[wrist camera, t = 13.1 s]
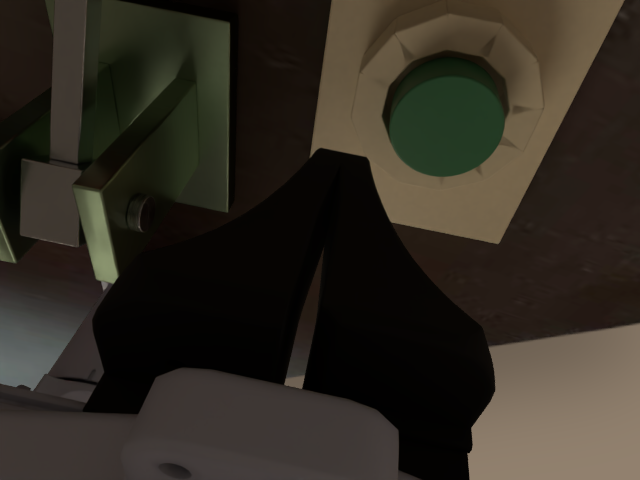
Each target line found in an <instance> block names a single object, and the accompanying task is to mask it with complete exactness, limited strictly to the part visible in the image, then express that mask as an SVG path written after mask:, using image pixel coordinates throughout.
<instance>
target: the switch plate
mask: <svg viewBox="0 0 640 480" xmlns="http://www.w3.org/2000/svg"><path fill="white" fill-rule="evenodd" d="M623 2H624V0H332V1H331V9H330V16H329V23H328V30H327V37H326V44H325V52H324V59H323V66H322V73H321V80H320V87H319V94H318V102H317V109H316V116H315V123H314V130H313V137H312V144H311V152H310V157H311V156H312V155H313V154H314V152H315V151H316V150H317V149H319V148H325V149H330V150H335V151H340V152H344V153H349V154H354V155H359V156H364V157H367V158H368V160H369V161H370V166H371V171H372V175H373V179H374V182H375V185H376V188H377V191H378V194H379V197H380V199H381V202H382V204H383V207H384V209H385V211H386V213H387V215H388V218H389V219H390V221H391V222H393V223H398V224H403V225H408V226H413V227H418V228H423V229H428V230H433V231H438V232H442V233H447V234H452V235H457V236H462V237H467V238H472V239H477V240H482V241H486V242H491V243H496V244H499V242H500V240H501V238H502V237H503V235H504V233H505V231H506V229H507V227H508V225H509V223H510V221H511V219H512V217H513V215H514V213H515V211H516V209H517V207H518V206H519V204H520V202H521V200H522V198H523V196H524V194H525V192H526V190H527V188H528V186H529V184H530V182H531V180H532V178H533V176H534V175H535V173H536V171H537V169H538V167H539V165H540V163H541V161H542V159H543V157H544V155H545V153H546V151H547V149H548V147H549V146H550V144H551V142H552V140H553V138H554V136H555V134H556V132H557V130H558V128H559V126H560V124H561V122H562V120H563V118H564V116H565V115H566V113H567V111H568V109H569V107H570V105H571V103H572V101H573V99H574V97H575V95H576V93H577V91H578V89H579V87H580V85H581V84H582V82H583V80H584V78H585V76H586V74H587V72H588V70H589V68H590V66H591V64H592V62H593V60H594V58H595V56H596V55H597V53H598V51H599V49H600V47H601V45H602V43H603V41H604V39H605V37H606V35H607V33H608V31H609V29H610V27H611V25H612V24H613V22H614V20H615V18H616V16H617V14H618V12H619V10H620V8H621V6H622V4H623ZM443 57H457V58H463V59H466V60H469V61H472V62H474V63H476V64H478V65H479V66H481V67H482V68H483V69H485V70H486V71H487V72H488V74H489V75H490V76H491V77H492V79H493V80H494V82H495V84H496V87H497V90H498V93H499V96H500V100H501V103H502V106H503V110H504V115H505V127H504V132H503V136H502V138H501V141H500V143H499V145H498V147H497V148H496V149H495V151H494V152H493V154H492V155H491V156H490V157H489V158H488V159H487V160H486V161H485V162H483V163H482V164H481V165H479V166H478V167H476V168H474V169H473V170H471V171H468V172H466V173H463V174H460V175H455V176H449V177H435V176H429V175H425V174H422V173H419V172H417V171H415V170H413V169H411V168H410V167H409V166H407V165H406V164H405V163H404V162H403V161H402V160H401V159H400V158H399V157H398V156H397V154H396V152H395V151H394V149H393V146H392V144H391V140H390V134H389V124H390V114H391V105H392V99H393V96H394V93H395V91H396V89H397V87H398V85H399V84H400V82H401V81H402V80H403V79H404V77H405V76H406V75H407V74H408V73H409V72H411V71H412V70H413V69H415V68H416V67H417V66H419V65H421V64H423V63H425V62H427V61H430V60H433V59H437V58H443Z"/></svg>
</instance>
